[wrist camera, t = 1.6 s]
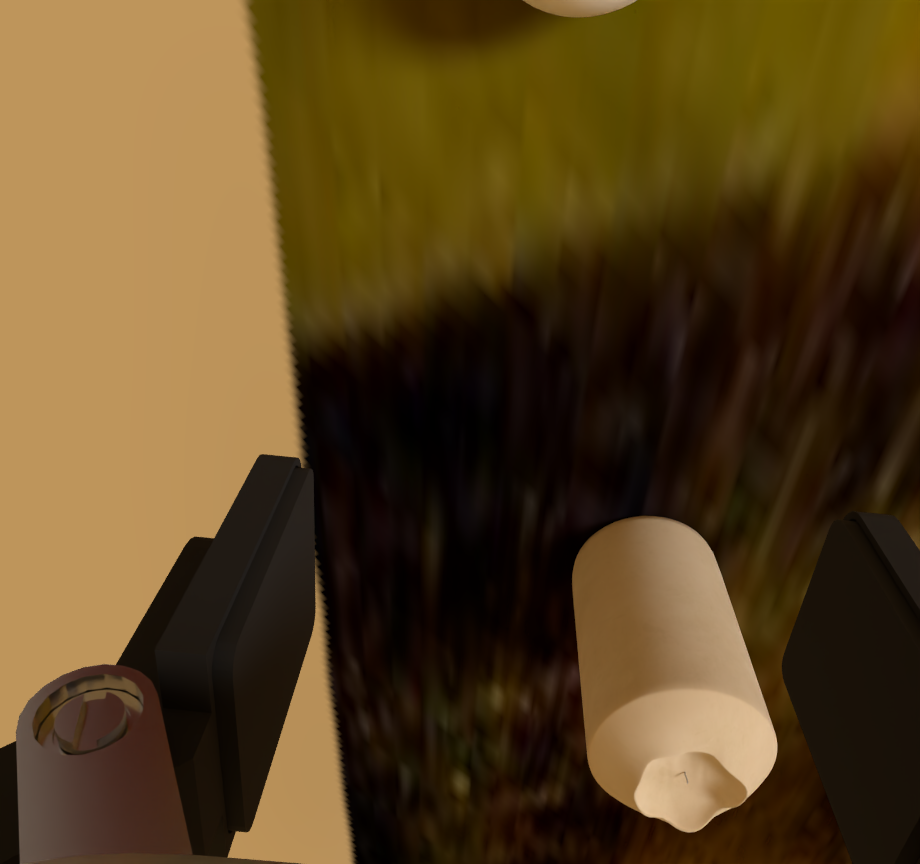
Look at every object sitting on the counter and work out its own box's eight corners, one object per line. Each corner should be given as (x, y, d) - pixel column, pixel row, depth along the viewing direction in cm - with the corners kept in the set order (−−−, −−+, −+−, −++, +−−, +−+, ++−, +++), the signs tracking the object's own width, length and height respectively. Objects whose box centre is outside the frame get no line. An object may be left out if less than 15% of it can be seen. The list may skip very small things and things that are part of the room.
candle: (718, 508, 30) (800, 726, 21) (713, 622, 33) (785, 858, 24) (567, 517, 31) (587, 733, 22) (574, 629, 33) (594, 861, 25)
